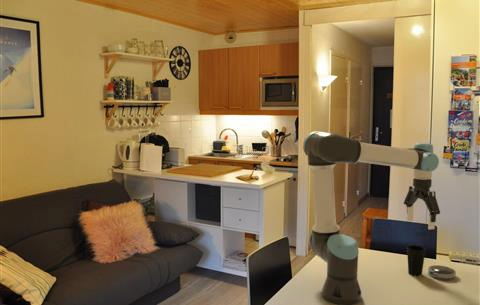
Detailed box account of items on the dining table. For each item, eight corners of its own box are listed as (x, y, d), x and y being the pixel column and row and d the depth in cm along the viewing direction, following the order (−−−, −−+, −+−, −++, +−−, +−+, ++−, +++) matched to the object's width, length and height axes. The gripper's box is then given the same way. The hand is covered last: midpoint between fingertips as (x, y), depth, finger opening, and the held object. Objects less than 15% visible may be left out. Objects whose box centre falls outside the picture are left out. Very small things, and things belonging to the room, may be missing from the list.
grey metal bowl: (440, 281, 183) (440, 275, 182) (422, 272, 193) (422, 266, 193) (461, 278, 186) (461, 272, 186) (442, 269, 196) (442, 263, 196)
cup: (421, 270, 195) (422, 245, 193) (426, 277, 187) (428, 251, 186) (403, 270, 195) (404, 244, 194) (408, 276, 188) (409, 250, 187)
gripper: (451, 182, 178) (448, 231, 180) (410, 173, 202) (408, 217, 204) (436, 183, 176) (433, 233, 178) (396, 174, 199) (395, 218, 202)
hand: (420, 224), depth 191 cm, fingers open, 13 cm apart
